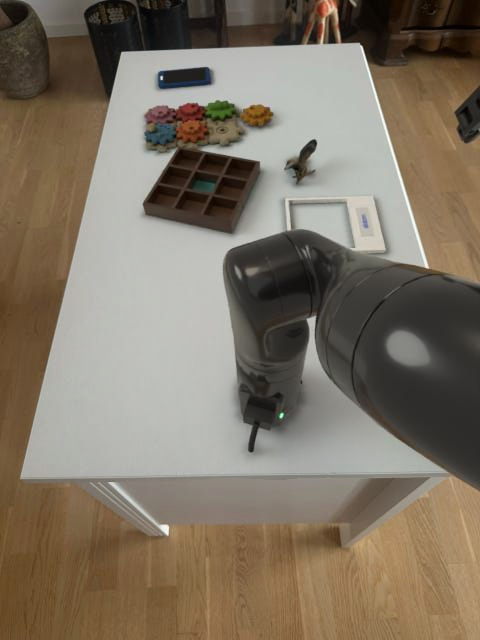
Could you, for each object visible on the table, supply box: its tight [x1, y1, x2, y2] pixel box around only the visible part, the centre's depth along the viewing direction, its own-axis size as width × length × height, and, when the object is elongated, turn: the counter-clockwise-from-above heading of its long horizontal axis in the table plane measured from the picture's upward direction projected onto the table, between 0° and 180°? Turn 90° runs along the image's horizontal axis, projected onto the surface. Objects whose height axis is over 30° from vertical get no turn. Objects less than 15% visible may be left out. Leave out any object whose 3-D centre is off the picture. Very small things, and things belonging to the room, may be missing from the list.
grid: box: [142, 146, 261, 235], centre depth 93 cm, size 19×19×3 cm
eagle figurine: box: [283, 138, 318, 185], centre depth 94 cm, size 8×7×9 cm
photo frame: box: [284, 195, 386, 254], centre depth 87 cm, size 15×1×18 cm
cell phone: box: [157, 66, 212, 89], centre depth 118 cm, size 7×14×1 cm, turn 96°
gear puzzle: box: [143, 99, 274, 153], centre depth 105 cm, size 31×16×4 cm, turn 96°
